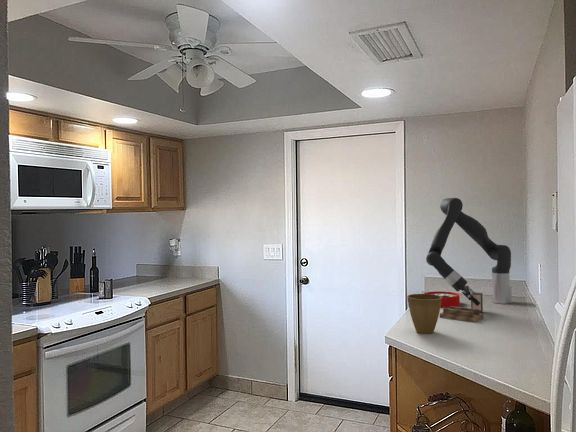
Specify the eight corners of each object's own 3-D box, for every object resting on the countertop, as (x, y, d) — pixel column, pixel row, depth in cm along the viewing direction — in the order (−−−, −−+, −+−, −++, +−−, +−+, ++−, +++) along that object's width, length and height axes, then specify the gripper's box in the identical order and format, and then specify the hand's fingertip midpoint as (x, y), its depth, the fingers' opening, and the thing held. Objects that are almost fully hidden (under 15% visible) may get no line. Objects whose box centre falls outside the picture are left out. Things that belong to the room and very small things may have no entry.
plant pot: (417, 337, 203) (416, 300, 203) (402, 329, 217) (401, 294, 217) (449, 334, 206) (448, 298, 206) (432, 326, 220) (431, 292, 220)
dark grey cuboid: (471, 312, 249) (470, 293, 249) (471, 310, 252) (471, 292, 252) (482, 312, 246) (482, 293, 246) (482, 311, 250) (482, 292, 250)
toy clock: (427, 297, 264) (420, 291, 284) (427, 307, 264) (420, 301, 284) (463, 297, 262) (454, 291, 282) (464, 307, 262) (454, 300, 282)
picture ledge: (439, 317, 239) (439, 308, 239) (449, 313, 246) (448, 305, 246) (474, 322, 226) (474, 313, 226) (483, 318, 233) (483, 309, 233)
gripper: (459, 277, 246) (484, 300, 241) (462, 274, 259) (485, 296, 254) (449, 287, 248) (473, 310, 243) (452, 283, 261) (475, 305, 256)
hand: (479, 303), depth 249 cm, fingers open, 8 cm apart
